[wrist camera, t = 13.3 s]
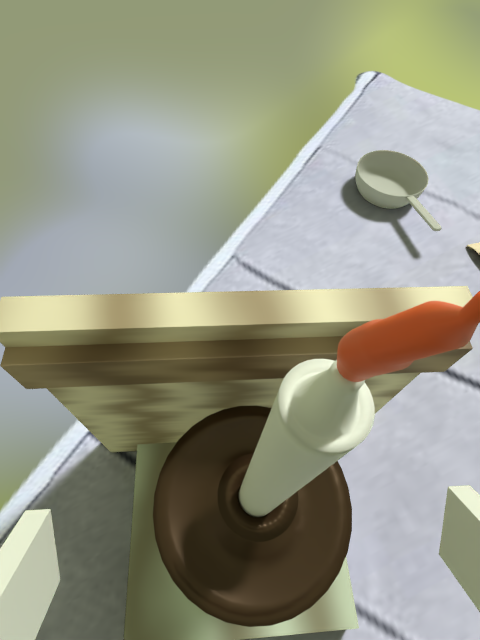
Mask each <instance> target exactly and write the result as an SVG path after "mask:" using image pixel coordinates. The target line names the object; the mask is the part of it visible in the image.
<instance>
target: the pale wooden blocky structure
mask: <svg viewBox="0 0 480 640" xmlns="http://www.w3.org/2000/svg"><path fill="white" fill-rule="evenodd" d="M472 298H473V297H472V295H471V293H470V291H469V289H468V287H467V286H451V287H408V288H365V289H321V290H278V291H235V292H192V293H151V294H109V295H108V294H106V295H62V296H20V297H1V300H0V342H1V343H2V344H3V345H4V346H5V351H4V355H3V359H2V362H1V367H2V368H3V369H4V370H6V371H7V372H8V373H9V374H10V375H11V376H12V377H13V378H15V379H16V380H17V381H18V382H19V383H20V384H21V385H22V386H24V387H25V388H26V389H38V388H47V389H48V390H49V391H50V392H51V393H52V394H53V395H54V396H55V397H56V398H57V399H58V400H59V401H60V402H61V403H62V404H63V405H64V406H65V407H66V408H67V409H68V410H69V411H70V412H71V413H72V414H73V415H74V416H75V417H76V418H77V419H78V420H79V421H80V422H81V423H82V424H83V425H84V426H85V427H86V428H87V429H88V430H89V431H90V432H91V433H92V434H93V435H94V436H95V437H96V438H97V439H98V440H99V441H100V442H101V443H102V444H103V445H104V446H105V447H106V448H107V449H108V450H109V451H110V452H126V451H137V457H136V472H135V486H134V500H133V514H132V528H131V542H130V556H129V570H128V585H127V599H126V613H125V627H124V640H242V639H252V638H262V637H273V636H283V635H294V634H304V633H315V632H325V631H335V630H346V629H356V628H359V626H358V621H357V615H356V609H355V604H354V598H353V593H352V587H351V582H350V576H349V570H348V565H347V559H346V557H345V560H344V562H343V565H342V567H341V570H340V572H339V574H338V576H337V577H336V579H335V580H334V582H333V583H332V585H331V586H330V588H329V590H328V591H327V592H326V593H325V594H324V595H323V596H322V597H321V598H320V599H319V600H318V601H317V602H316V603H315V604H314V605H313V606H312V607H311V608H309V609H308V610H306V611H304V612H303V613H301V614H300V615H298V616H296V617H295V618H293V619H291V620H287V621H284V622H281V623H278V624H275V625H272V626H257V627H246V626H241V625H236V624H231V623H226V622H224V621H222V620H220V619H217V618H215V617H213V616H211V615H209V614H207V613H205V612H204V611H202V610H201V609H200V608H199V607H197V606H196V605H195V604H194V603H192V602H191V601H190V600H188V599H187V598H186V596H185V595H184V594H183V593H182V591H181V590H180V589H179V588H178V587H177V585H176V584H175V583H174V582H173V580H172V579H171V577H170V575H169V573H168V571H167V569H166V567H165V565H164V563H163V562H162V559H161V556H160V553H159V549H158V546H157V543H156V539H155V532H154V523H153V505H154V493H155V489H156V485H157V481H158V478H159V474H160V471H161V469H162V467H163V465H164V463H165V460H166V458H167V456H168V454H169V453H170V451H171V450H172V449H173V447H174V446H175V444H176V443H177V441H178V440H179V439H180V438H181V437H182V436H183V435H184V434H185V433H186V432H187V431H188V430H189V429H190V428H191V427H192V426H193V425H195V424H196V423H198V422H199V421H201V420H202V419H204V418H205V417H207V416H209V415H211V414H214V413H216V412H218V411H221V410H223V409H227V408H232V407H237V406H263V407H268V408H272V406H273V404H274V401H275V398H276V396H277V393H278V391H279V388H280V386H281V383H282V381H283V379H284V378H285V376H286V374H287V373H288V372H289V371H290V370H291V369H292V368H293V367H295V366H296V365H298V364H299V363H302V362H304V361H307V360H312V359H329V360H334V361H336V360H337V350H338V344H339V342H340V340H341V339H342V338H343V336H345V335H346V334H347V333H348V332H349V331H351V330H352V329H354V328H357V327H359V326H361V325H363V324H365V323H367V322H369V321H372V320H376V319H385V318H387V317H390V316H392V315H395V314H397V313H400V312H402V311H405V310H408V309H410V308H413V307H415V306H418V305H420V304H423V303H425V302H428V301H442V302H447V303H451V304H455V305H458V306H461V307H464V306H465V305H466V304H467V303H468V302H469V301H470V300H471V299H472ZM471 349H473V348H472V346H471V343H470V341H469V343H468V344H467V345H465V346H464V347H462V348H459V349H455V350H451V351H448V352H444V353H440V354H437V355H433V356H429V357H426V358H422V359H418V360H415V361H413V362H412V364H411V365H410V366H408V367H407V368H405V369H403V370H399V371H395V372H391V373H387V374H382V375H378V376H374V377H371V378H369V379H366V380H365V384H366V385H367V387H368V388H369V390H370V393H371V395H372V397H373V402H374V406H375V413H376V412H377V411H379V410H380V409H381V408H382V407H383V406H384V405H385V404H386V403H387V402H389V401H390V400H391V399H392V398H393V397H394V396H395V395H396V394H397V393H399V392H400V391H401V390H402V389H403V388H404V387H405V386H406V385H408V384H409V383H410V382H411V381H412V380H413V379H414V378H415V377H416V376H418V375H419V374H420V373H422V372H444V371H446V370H447V369H448V368H449V367H451V366H452V365H453V364H454V363H455V362H457V361H458V360H459V359H460V358H462V357H463V356H464V355H465V354H467V353H468V352H469V351H470V350H471Z"/></svg>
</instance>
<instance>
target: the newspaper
mask: <svg viewBox="0 0 480 640" xmlns="http://www.w3.org/2000/svg"><path fill="white" fill-rule="evenodd" d="M466 247H470V248H469V249H474V250H475V251H476V252H477V253H478V254H479V255H480V243H475V244H470V245H467V246H466Z"/></svg>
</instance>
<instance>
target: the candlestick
mask: <svg viewBox="0 0 480 640" xmlns="http://www.w3.org/2000/svg"><path fill="white" fill-rule="evenodd" d="M478 323H480V291H479V292H478V293H477V294H476V295H475V296H474V297H473V298H472V299H471V300H470V301H469V302H468V303H467V304H466V305H465V306H464V307H461V306H458V305H455V304H451V303H447V302H442V301H428V302H425V303H423V304H420V305H418V306H415V307H413V308H410V309H408V310H405V311H402V312H400V313H397V314H395V315H392V316H390V317H387V318H385V319H376V320H372V321H369V322H367V323H365V324H363V325H361V326H359V327H357V328H354V329H352V330H351V331H349V332H348V333H347V334H346V335H345V336H343V338H342V339H341V340H340V342H339V344H338V350H337V360H336V361H334V360H329V359H312V360H307V361H304V362H302V363H299V364H298V365H296V366H295V367H293V368H292V369H291V370H290V371H289V372H288V373H287V374H286V376H285V378H284V379H283V381H282V383H281V386H280V388H279V391H278V393H277V396H276V398H275V401H274V404H273V406H272V408H268V407H263V406H237V407H232V408H227V409H223V410H221V411H218V412H216V413H214V414H211V415H209V416H207V417H205V418H204V419H202V420H201V421H199V422H198V423H196V424H195V425H193V426H192V427H191V428H190V429H189V430H188V431H187V432H186V433H185V434H184V435H183V436H182V437H181V438H180V439H179V440H178V441H177V443H176V444H175V446H174V447H173V449H172V450H171V451H170V453H169V454H168V456H167V458H166V460H165V463H164V465H163V467H162V469H161V471H160V474H159V478H158V481H157V485H156V489H155V493H154V505H153V523H154V532H155V539H156V543H157V546H158V549H159V553H160V556H161V559H162V562H163V563H164V565H165V567H166V569H167V571H168V573H169V575H170V577H171V579H172V580H173V582H174V583H175V584H176V585H177V587H178V588H179V589H180V590H181V591H182V593H183V594H184V595H185V596H186V598H187V599H188V600H190V601H191V602H192V603H194V604H195V605H196V606H197V607H199V608H200V609H201V610H202V611H204V612H205V613H207V614H209V615H211V616H213V617H215V618H217V619H220V620H222V621H224V622H226V623H231V624H236V625H241V626H246V627H257V626H272V625H275V624H278V623H281V622H284V621H287V620H291V619H293V618H295V617H296V616H298V615H300V614H301V613H303V612H304V611H306V610H308V609H309V608H311V607H312V606H313V605H314V604H315V603H316V602H317V601H318V600H319V599H320V598H321V597H322V596H323V595H324V594H325V593H326V592H327V591H328V590H329V588H330V586H331V585H332V583H333V582H334V580H335V579H336V577H337V576H338V574H339V572H340V570H341V567H342V565H343V562H344V560H345V557H346V555H347V552H348V547H349V541H350V536H351V531H352V507H351V501H350V496H349V490H348V486H347V483H346V480H345V477H344V474H343V472H342V469H341V467H340V465H339V463H338V460H339V459H340V458H342V457H343V456H344V455H346V454H347V453H348V452H349V451H351V450H352V449H353V448H355V447H356V446H357V445H359V444H360V443H361V442H362V441H363V440H364V439H365V438H366V437H367V435H368V434H369V433H370V430H371V428H372V426H373V422H374V417H375V406H374V402H373V397H372V395H371V393H370V390H369V388H368V387H367V385H366V384H365V380H366V379H369V378H371V377H374V376H378V375H382V374H387V373H391V372H395V371H399V370H403V369H405V368H407V367H408V366H410V365H411V364H412V362H413V361H415V360H418V359H422V358H426V357H429V356H433V355H437V354H440V353H444V352H448V351H451V350H455V349H459V348H462V347H464V346H465V345H467V344H468V343H469V341H470V340H471V338H472V335H473V333H474V331H475V329H476V327H477V325H478Z"/></svg>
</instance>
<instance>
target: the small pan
mask: <svg viewBox="0 0 480 640" xmlns="http://www.w3.org/2000/svg"><path fill="white" fill-rule="evenodd" d="M355 179H356V184H357V187H358V190H359V192H360V194H361V195H362V197H363V198H364V199H366V200H367V201H368V202H370V203H371V204H373V205H376V206H378V207H382V208H387V209H395V208H400V207H403V206H405V205H408V204H411V205H412V206H413V208H414V209H415V210H416V211H417V212H418V213H419V215H420V216H421V217H422V218H423V219H424V220H425V222H426V223H427V224H428V225H429V226H430V227H431V229H432V230H433V231H440V230H441V229H442V228H441V226H440V225H439V224H438V223H437V222H436V220H435V219H434V218H433V217H432V216H431V215H430V214H429V212H428V211H427V210H426V209H425V208H424V207H423V206H422V205H421V203H420V202H419V201H418V200H417V198H418V197H419V196H420V195H421V194H422V192H423V191H424V189H425V188H426V187H427V184H428V175H427V172H426V170H425V169H424V168H423V166H422V165H421V164H420V163H418V162H417V161H416V160H414V159H413V158H411V157H409V156H407V155H405V154H402V153H399V152H395V151H388V150H379V151H373V152H370V153H367V154H365V155H364V156H363V157H362V158H361V159H360V160H359V162H358V165H357V169H356V174H355Z"/></svg>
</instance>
